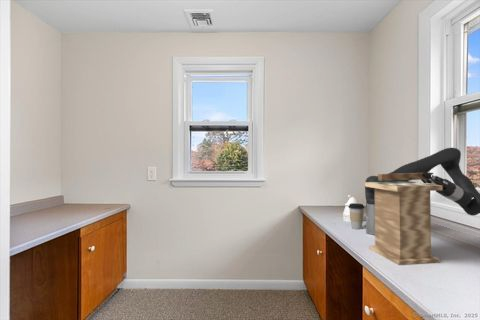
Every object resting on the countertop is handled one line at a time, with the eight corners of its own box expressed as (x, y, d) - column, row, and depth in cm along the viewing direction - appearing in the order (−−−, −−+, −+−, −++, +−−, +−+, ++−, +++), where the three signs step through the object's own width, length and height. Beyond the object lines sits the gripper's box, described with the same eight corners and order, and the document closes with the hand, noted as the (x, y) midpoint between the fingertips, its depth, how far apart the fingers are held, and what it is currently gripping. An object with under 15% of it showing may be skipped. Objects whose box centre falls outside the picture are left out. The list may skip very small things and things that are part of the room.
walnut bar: (428, 178, 142) (428, 172, 142) (433, 179, 139) (433, 172, 139) (378, 180, 139) (377, 174, 139) (381, 180, 136) (381, 174, 136)
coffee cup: (364, 227, 187) (363, 203, 187) (365, 230, 178) (365, 205, 178) (348, 226, 190) (348, 202, 190) (348, 229, 181) (348, 205, 181)
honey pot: (344, 222, 201) (344, 196, 201) (341, 218, 214) (341, 194, 214) (364, 223, 199) (364, 196, 199) (360, 219, 212) (360, 194, 212)
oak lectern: (404, 246, 145) (403, 180, 145) (443, 263, 121) (442, 184, 121) (365, 248, 143) (365, 181, 143) (398, 265, 119) (397, 185, 119)
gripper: (440, 182, 149) (413, 165, 147) (465, 184, 135) (435, 166, 133) (434, 195, 148) (406, 179, 146) (458, 198, 134) (427, 181, 133)
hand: (420, 173), depth 140 cm, fingers closed on walnut bar, 3 cm apart
